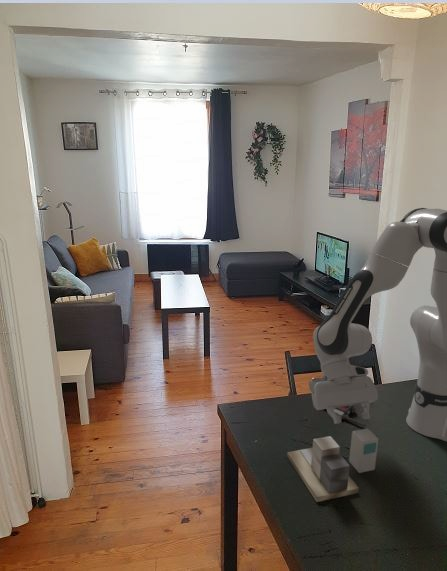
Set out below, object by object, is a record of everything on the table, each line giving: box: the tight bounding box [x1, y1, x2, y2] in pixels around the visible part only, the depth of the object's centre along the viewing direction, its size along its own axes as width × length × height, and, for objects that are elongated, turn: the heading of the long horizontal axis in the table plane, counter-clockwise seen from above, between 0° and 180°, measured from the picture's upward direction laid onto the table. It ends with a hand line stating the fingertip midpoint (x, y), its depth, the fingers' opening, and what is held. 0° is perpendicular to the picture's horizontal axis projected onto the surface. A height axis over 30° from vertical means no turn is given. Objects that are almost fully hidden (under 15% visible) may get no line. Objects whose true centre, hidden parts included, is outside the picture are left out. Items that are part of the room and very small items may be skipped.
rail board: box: [286, 435, 360, 503], centre depth 114 cm, size 12×18×11 cm, turn 16°
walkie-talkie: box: [326, 405, 366, 427], centre depth 145 cm, size 9×4×20 cm
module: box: [348, 428, 380, 474], centre depth 118 cm, size 5×5×10 cm
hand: (352, 420), depth 122 cm, fingers open, 8 cm apart
